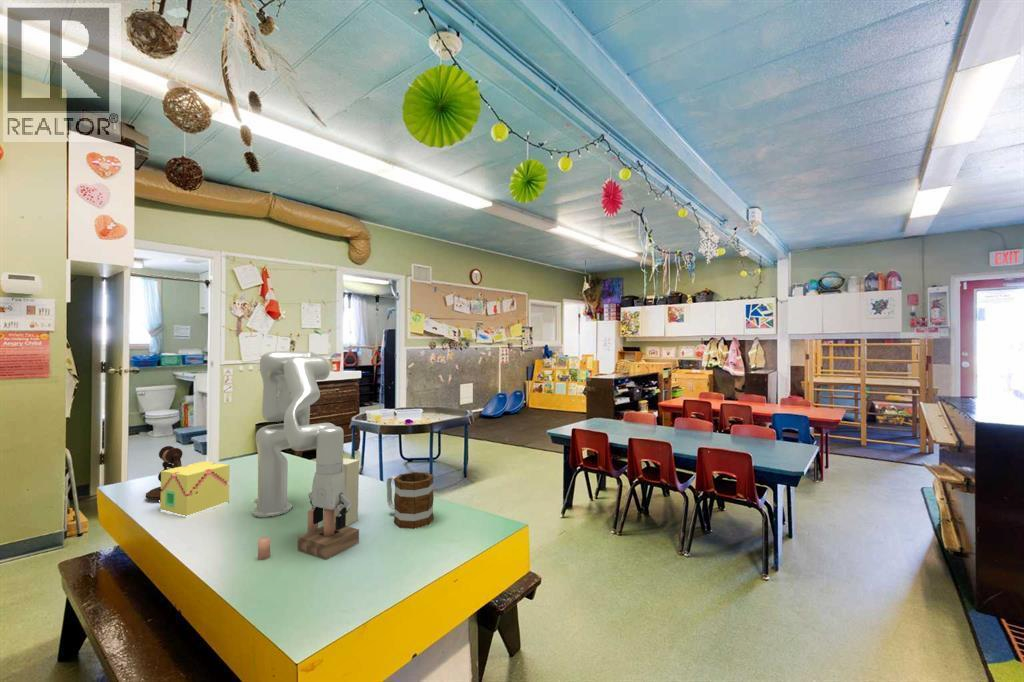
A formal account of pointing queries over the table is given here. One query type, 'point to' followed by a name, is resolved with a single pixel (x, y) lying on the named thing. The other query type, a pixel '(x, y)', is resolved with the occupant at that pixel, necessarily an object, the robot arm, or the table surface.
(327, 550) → the hole block
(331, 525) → the pin long
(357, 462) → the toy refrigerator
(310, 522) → the pin medium
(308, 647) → the table surface
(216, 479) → the toy block
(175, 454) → the brown rounded figure
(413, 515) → the mug
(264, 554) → the pin short
